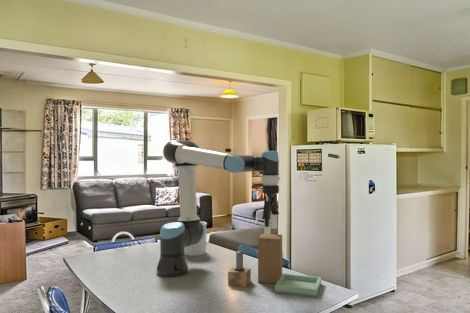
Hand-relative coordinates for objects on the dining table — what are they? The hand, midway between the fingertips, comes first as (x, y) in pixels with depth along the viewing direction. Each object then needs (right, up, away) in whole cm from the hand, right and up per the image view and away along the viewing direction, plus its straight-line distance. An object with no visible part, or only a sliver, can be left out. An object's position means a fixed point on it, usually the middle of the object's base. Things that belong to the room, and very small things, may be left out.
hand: (270, 231), depth 174 cm
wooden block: (0, -23, 0) cm, 23 cm away
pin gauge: (-14, -22, -5) cm, 27 cm away
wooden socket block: (-14, -22, -5) cm, 27 cm away
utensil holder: (-40, -23, +50) cm, 68 cm away
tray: (+11, -22, -11) cm, 27 cm away
